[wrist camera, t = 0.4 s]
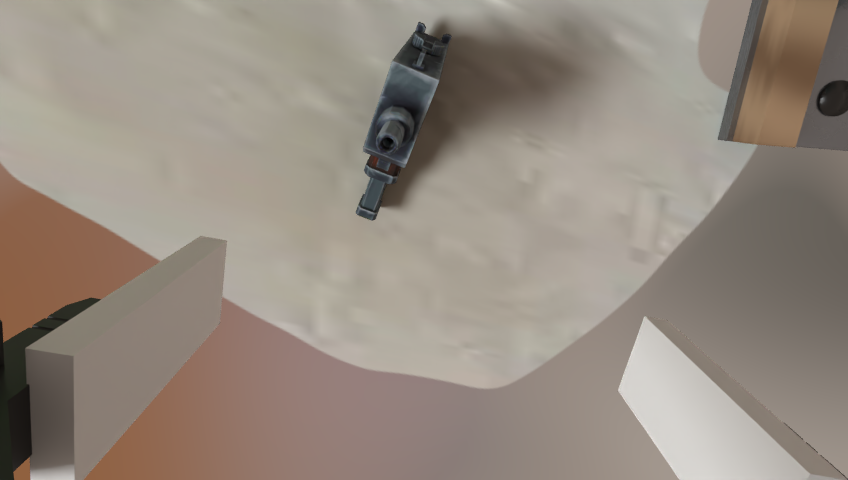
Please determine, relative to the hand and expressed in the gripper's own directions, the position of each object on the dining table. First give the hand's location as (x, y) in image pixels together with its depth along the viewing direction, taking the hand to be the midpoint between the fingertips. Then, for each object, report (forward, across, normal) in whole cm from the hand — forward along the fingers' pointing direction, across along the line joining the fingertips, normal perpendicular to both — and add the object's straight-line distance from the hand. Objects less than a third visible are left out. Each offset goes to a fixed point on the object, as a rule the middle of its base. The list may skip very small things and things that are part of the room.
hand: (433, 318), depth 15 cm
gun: (+28, -3, +4) cm, 28 cm away
